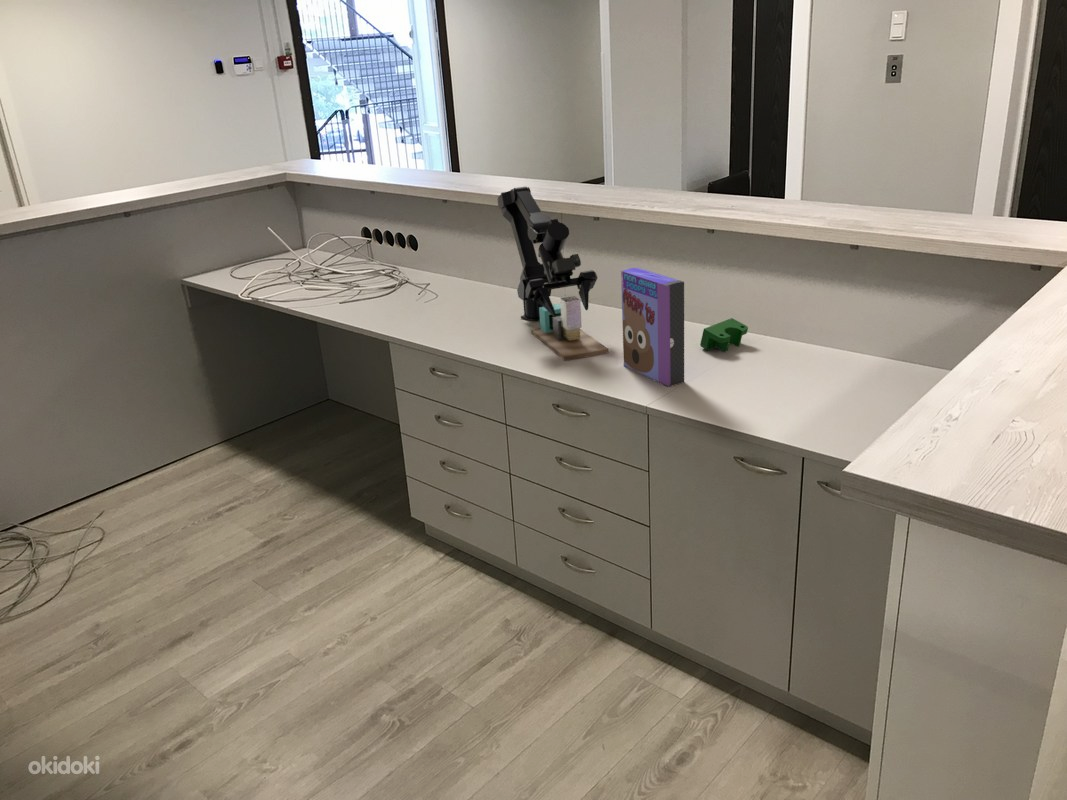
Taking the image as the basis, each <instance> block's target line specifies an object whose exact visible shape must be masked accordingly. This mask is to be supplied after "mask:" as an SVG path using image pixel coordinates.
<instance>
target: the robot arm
mask: <svg viewBox="0 0 1067 800" xmlns="http://www.w3.org/2000/svg"><path fill="white" fill-rule="evenodd" d="M497 205H498V209H500V211H501V213H502V217H504V218H505V220H507V221H508V222H509V223H510V226H511V229H512V234H513V237H514V241H515V244H516V247H517V252H518V255H519V258H520V263H521V265H522V270H521V273H520V277H519V279H520V281H519V284H518V287H517V290H516V291H517V292H516V293H517V297H518V298H519V299H520V300H522V302H523V303H522V304H523V315H521V316H520V318H521V319H523V320H529V321H534V322H540V314H539V308H540V307H544V308H545V309H546V310H548V311H549V312H550V313H551V314H552V315H553V316H555V311H554V307H553V305H554V304H553V303H552V300H551V298H550V297H551V296H552V295H551V294H552V290H555V289H556V290H557V289H563V288H568V287H574V286H576V287H577V289H578V295H579V297H580V298H579V299H580V301H581V302H582V305H583V307H584V309H585V311H589V298H590V296H589V293H590V291H591V290H593V288H594V286H595V285H596V282H597V280H598V274H597V273H596V271H594V270H591V269H590V270H584V271H580V273H579V274H578V277H574V278H571V277H572V276H573V274H574V272H573V271H575V270H576V268H579V267H580V266H581V265H582V261H581V258H580V255H579V253H575V254H571V255H570V256H569V257H564V256H563V252H562V250H563V249H564V248H565V245H566V243H567V240H568V238H569V235H570V229H569V227H568V226H567V225H566V224H565V223H562V222H560V221H559V220H558V218H553V217H551V216H550V215H548V214H545V213H543V212H542V210H541V208H540V207H539V204H537V201H536V200H535V198H534V197H533V195H532V192H531V188H530V187H529V186H519V187H514V188H512V189H510V190H508V191H502V192H501V193H500V195H499V196H498V197H497ZM534 244H540V245H539V246H538V249H537V250H538V253H536V249H535V246H534ZM537 254H538V255H537ZM537 256H538V257H537ZM538 258H540V260H541V262H539V260H538Z"/></svg>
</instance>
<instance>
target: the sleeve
mask: <svg viewBox="0 0 1067 800" xmlns="http://www.w3.org/2000/svg"><path fill="white" fill-rule="evenodd" d="M561 324H562V323H561V316H557V317H553V333H554V337H555V338H556V339H558V340H559V341H560V340H566V339H567V338H565V337H564V336H563V335H562V333H561Z"/></svg>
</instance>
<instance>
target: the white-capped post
mask: <svg viewBox="0 0 1067 800" xmlns="http://www.w3.org/2000/svg"><path fill="white" fill-rule="evenodd" d="M559 302H560V303H559V304H560V306H561V314H560V313H558V314H555V316H553V315H549V325H550V326H551V327H552V328H553V317H557V316H561V323H562V324H561V333H562V335H563V336H564V337H565V338H567V339H568V340H569V341H571V340H576V339H580V329H581V328H582V309H581V306H582V305H581V298H578V297H577V296H576V295H572V296H566V297H559Z"/></svg>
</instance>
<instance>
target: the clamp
mask: <svg viewBox="0 0 1067 800" xmlns="http://www.w3.org/2000/svg"><path fill="white" fill-rule="evenodd" d="M748 330H749V327H748V326H747V325H745V324H744V323H742V322H741V321H738V320H736V319H735V318H733V317H731V318H728V319H725V320H723V321H721V322H717V323H715V324H712V325H711V326H707V327H705V328H703V330H702V335H701V340H700V347H701V348H703V349H704V350H706V351H710V350H712V349H715V348H717V349H719V350H721V351H723V352H724V353H726V352H728V350H729V349H728V348H729V345H730V344H731V345H734V346H735V347H738V348H739V347H740V346H741V341H742V338H743V336H745V335H747V334H748Z"/></svg>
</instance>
